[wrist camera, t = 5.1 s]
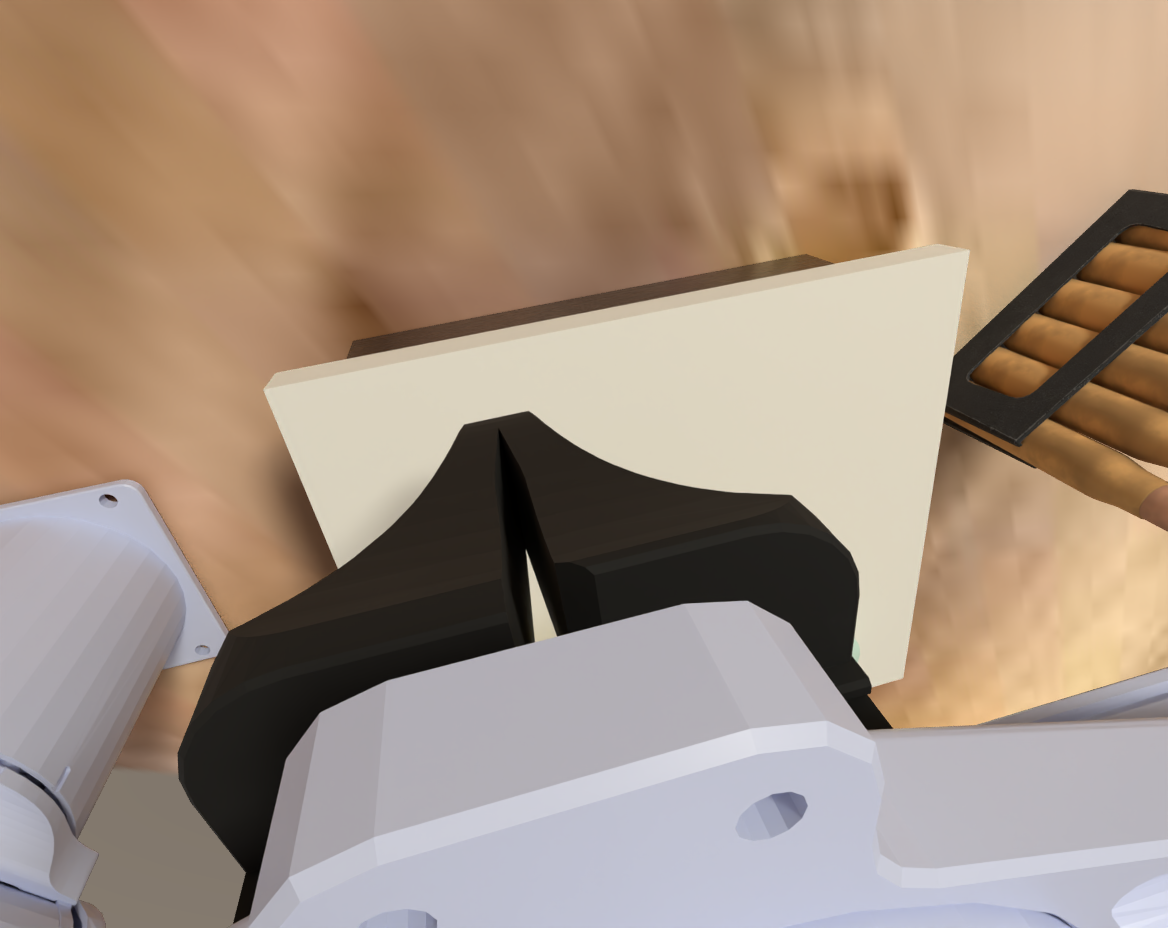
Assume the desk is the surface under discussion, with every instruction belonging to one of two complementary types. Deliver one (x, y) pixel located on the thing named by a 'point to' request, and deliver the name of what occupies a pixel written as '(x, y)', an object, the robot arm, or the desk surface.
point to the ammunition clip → (1082, 364)
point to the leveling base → (581, 305)
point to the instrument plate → (678, 411)
